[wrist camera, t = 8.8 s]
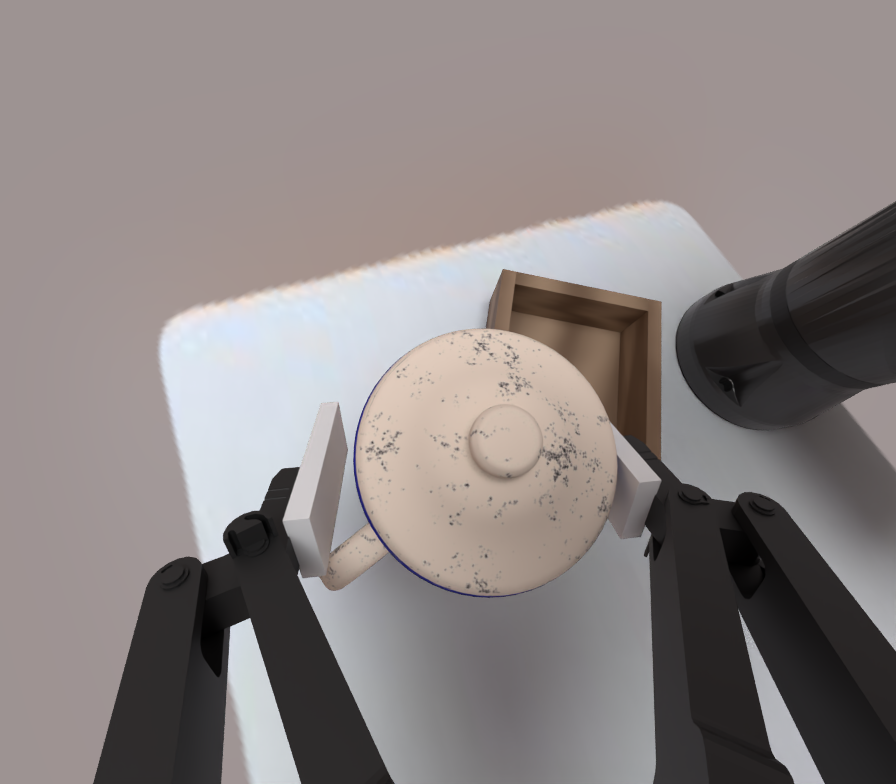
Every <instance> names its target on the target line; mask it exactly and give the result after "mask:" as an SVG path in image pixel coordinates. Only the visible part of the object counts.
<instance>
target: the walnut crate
mask: <svg viewBox="0 0 896 784" xmlns="http://www.w3.org/2000/svg"><path fill="white" fill-rule="evenodd" d="M486 329H496V330H503V331H509V332H513V333H517V334H520V335H524V336H526V337H529V338H531V339H534V340H536V341H538V342H540V343H542V344H544V345H546V346H548V347H549V348H551V349H553V350H554V351H556V352H557V353H559V354H560V355H561V356H563V357H564V358H565V359H567V360H568V361H569V362H570V363H571V364H572V365H573V366H575V367H576V369H577V370H578V371H579V372H580V373H581V374H582V375H583V376H584V377H585V378H586V380H587V381H588V382H589V383H590V385H591V386H592V388H593V389H594V391H595V392H596V394H597V395H598V397H599V399H600V401H601V403H602V404H603V406H604V409H605V411H606V413H607V416H608V418H609V421H610V422H611V423H612V425H613V426H614V427H615V428H616V429H617V430H618V431H619V433H620V434H621V435H622V436H627V435H632V436H634V437H636V438H637V439H639V440H640V441H642V442H644V444H645V445H646V446H647V447H648V448H649V449H650V450H651V452H652V453H654V454H655V455H656V456H657V457H658V460H660V461H661V302H660V301H655V300H650V299H646V298H641V297H636V296H631V295H626V294H621V293H617V292H612V291H607V290H602V289H597V288H592V287H587V286H583V285H578V284H573V283H568V282H563V281H558V280H553V279H549V278H544V277H539V276H534V275H529V274H524V273H519V272H515V271H510V270H505V269H503V270H502V273H501V275H500V278H499V280H498V283H497V285H496V287H495V290H494V292H493V295H492V297H491V300H490V304H489V311H488V317H487V324H486Z"/></svg>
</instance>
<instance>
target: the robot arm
mask: <svg viewBox="0 0 896 784" xmlns="http://www.w3.org/2000/svg"><path fill="white" fill-rule="evenodd" d="M677 354H678V359H679V363H680V366H681V369H682V371H683V374H684V376H685V378H686V380H687V382H688V383H689V385H690V387H691V388H692V390H693V391H694V392H695V394H696V395H697V396H698V397H699V398H700V400H701V401H702V402H703V403H704V404H705V405H706V406H708V407H709V408H710V409H711V410H712V411H714V412H715V413H716V414H718V415H719V416H721V417H722V418H724V419H726V420H728V421H730V422H732V423H734V424H736V425H739V426H742V427H745V428H750V429H756V430H772V429H778V428H783V427H789V426H794V425H798V424H801V423H804V422H807V421H809V420H811V419H813V418H815V417H817V416H818V415H820V414H822V413H823V412H825V411H827V410H829V409H831V408H833V407H834V406H836V405H838V404H840V403H841V402H843V401H845V400H847V399H848V398H850V397H852V396H854V395H855V394H857V393H859V392H861V391H862V390H865V389H868V388H872V387H877V386H881V385H885V384H890V383H895V382H896V201H895V202H893V203H892V204H890V205H889V206H887V207H885V208H883V209H882V210H880V211H878V212H877V213H875V214H874V215H872V216H870V217H868V218H867V219H865V220H863V221H862V222H860V223H858V224H857V225H855V226H853V227H852V228H850V229H848V230H846V231H845V232H843V233H842V234H840V235H838V236H836V237H835V238H833V239H831V240H830V241H828V242H826V243H825V244H823V245H821V246H820V247H819V248H816V249H815V250H813V251H811V252H809V253H808V254H807V255H805V256H803V257H802V258H800V259H798V260H797V261H795V262H793V263H792V264H790V265H788V266H787V267H785V268H783V269H780V270H777V271H773V272H770V273H766V274H763V275H759V276H756V277H752V278H749V279H745V280H742V281H738V282H734V283H731V284H728V285H725V286H722V287H720V288H718V289H716V290H714V291H712V292H710V293H709V294H707V295H706V296H704V297H703V298H702V299H700V300H699V301H697V302H696V303H694V304H693V305H692V306H691V307H690V308H689V309H688V310H687V312H686V313H685V315H684V316H683V318H682V320H681V323H680V325H679V329H678V333H677ZM610 424H611V427H612V430H613V435H614V439H615V444H616V451H617V483H616V490H615V495H614V499H613V503H612V507H611V510H610V512H609V515H608V519H609V521H610V522H611V524H612V526H613V527H614V529H615V530H616V532H617V534H618V535H619V537H620V538H621V539H625V538H634V537H641V535H642V532H643V529H644V527H645V525H646V527H647V528H648V530H649V531H650V532H651V537H650V539H649V542H648V545H647V547H646V550H645V553H644V556H645V557H647V556H648V553H649V559H650V589H651V620H652V651H653V682H654V712H655V743H656V770H655V776H654V781H653V784H794V781H793V778H792V776H791V775H790V773H789V771H788V769H787V768H786V766H784V765H783V764H782V763H780V762H779V761H778V760H776V759H775V757H774V755H773V754H772V751H771V748H770V745H769V740H768V736H767V732H766V728H765V723H764V719H763V715H762V710H761V706H760V702H759V697H758V693H757V689H756V684H755V680H754V676H753V671H752V667H751V663H750V659H749V654H748V650H747V646H746V641H745V637H744V633H743V628H742V624H741V620H740V615H739V611H740V613H741V615H742V617H743V619H744V621H745V623H746V625H747V627H748V629H749V631H750V633H751V635H752V638H753V640H754V642H755V644H756V646H757V648H758V650H759V652H760V654H761V656H762V658H763V660H764V662H765V664H766V666H767V668H768V670H769V672H770V674H771V676H772V678H773V680H774V682H775V684H776V686H777V688H778V690H779V692H780V694H781V696H782V698H783V700H784V702H785V704H786V706H787V708H788V710H789V712H790V714H791V716H792V718H793V720H794V722H795V724H796V726H797V728H798V730H799V732H800V735H801V737H802V739H803V741H804V743H805V745H806V747H807V749H808V751H809V753H810V755H811V757H812V759H813V761H814V763H815V765H816V767H817V769H818V771H819V773H820V775H821V777H822V779H823V781H824V783H825V784H896V651H895V650H894V649H893V647H892V646H891V645H890V643H889V642H888V641H887V640H886V638H885V637H884V636H883V635H882V633H881V632H880V631H879V629H878V628H877V627H876V626H875V624H874V623H873V622H872V620H871V619H870V618H869V617H868V615H867V614H866V613H865V611H864V610H863V609H862V608H861V606H860V605H859V604H858V603H857V601H856V600H855V599H854V597H853V596H852V595H851V594H850V592H849V591H848V590H847V588H846V587H845V586H844V585H843V583H842V582H841V581H840V579H839V578H838V577H837V576H836V574H835V573H834V572H833V571H832V569H831V568H830V567H829V565H828V564H827V563H826V562H825V560H824V559H823V558H822V556H821V555H820V554H819V553H818V551H817V550H816V549H815V547H814V546H813V545H812V544H811V542H810V541H809V540H808V539H807V537H806V536H805V535H804V533H803V532H802V531H801V530H800V528H799V527H798V526H797V524H796V523H795V522H794V521H793V519H792V518H791V517H790V515H789V514H788V513H787V512H786V510H785V509H784V508H783V507H782V506H781V505H780V504H779V503H777V502H775V501H774V500H772V499H771V498H769V497H766V496H764V495H761V494H757V493H753V492H744V493H742V494H740V495H739V496H738V498H737V500H736V502H729V501H722V500H715V499H711V497H710V496H708V495H707V494H706V493H705V492H704V491H702V490H701V489H699V488H697V487H694V486H692V485H689V484H682V483H681V482H680V481H679V480H678V479H677V478H676V477H675V475H674V474H673V473H672V472H671V471H670V470H669V469H668V468H667V467H666V466H665V465H664V464H663V463H662V462H661V461H660V460H658V457H657V456H656V455H655V454H654V453H652V452H651V450H650V449H649V448H648V447H647V446H646V445H645V444H644V442H642V441H640V440H639V439H637V438H636V437H634V436H632V435H627V436H622V435H621V434H620V433H619V431H618V430H617V429H616V428H615V427H614V426H613V425H612V423H611V422H610ZM347 451H348V448H347V443H346V438H345V433H344V428H343V423H342V418H341V413H340V407H339V402H329V403H321V405H320V408H319V411H318V414H317V417H316V420H315V423H314V426H313V429H312V432H311V435H310V438H309V441H308V444H307V447H306V450H305V454H304V457H303V460H302V463H301V466H300V467H295V468H284V469H281V470H280V471H279V472H278V474H277V475H276V476H275V477H274V478H273V479H272V481H271V484H270V486H269V489H268V492H267V494H266V496H265V501H263V504H262V506H261V508H260V511H252V512H249V513H245V514H243V515H241V516H239V517H238V518H236V519H234V520H233V521H232V522H231V523H230V524H229V525H228V526H227V528H226V530H225V531H224V533H223V541H224V543H225V545H226V547H227V549H228V552H229V554H227V555H225V556H223V557H220V558H217V559H215V560H212V561H209V562H206V563H204V564H201V562H200V561H199V560H198V559H197V558H193V557H184V558H179V559H177V560H174V561H172V562H170V563H168V564H166V565H165V566H164V567H162V568H161V569H159V570H158V571H157V572H156V573H155V575H153V577H152V578H151V579H150V581H149V583H148V585H147V587H146V591H145V594H144V598H143V602H142V605H141V609H140V613H139V616H138V620H137V624H136V628H135V631H134V635H133V639H132V642H131V646H130V650H129V653H128V657H127V661H126V664H125V668H124V672H123V675H122V679H121V683H120V687H119V690H118V694H117V698H116V702H115V705H114V709H113V713H112V716H111V720H110V724H109V727H108V731H107V735H106V739H105V742H104V746H103V749H102V754H101V757H100V761H99V764H98V768H97V772H96V775H95V779H94V783H93V784H221V775H222V757H223V741H224V725H225V707H226V690H227V673H228V656H229V639H230V626H233V625H235V624H237V623H239V622H242V621H244V620H246V619H249V618H251V622H252V625H253V628H254V631H255V635H256V638H257V641H258V644H259V648H260V651H261V654H262V657H263V661H264V664H265V667H266V670H267V674H268V677H269V680H270V683H271V687H272V690H273V693H274V696H275V700H276V703H277V706H278V709H279V713H280V716H281V719H282V722H283V726H284V729H285V732H286V735H287V739H288V742H289V745H290V748H291V752H292V755H293V758H294V761H295V765H296V768H297V771H298V774H299V778H300V781H301V784H395V783H394V782H393V780H392V779H391V777H390V775H389V773H388V771H387V769H386V767H385V765H384V762H383V760H382V758H381V756H380V754H379V752H378V749H377V747H376V745H375V743H374V741H373V739H372V736H371V734H370V732H369V730H368V728H367V726H366V723H365V721H364V719H363V717H362V715H361V713H360V710H359V708H358V706H357V704H356V702H355V700H354V697H353V695H352V693H351V691H350V689H349V686H348V684H347V682H346V680H345V678H344V676H343V673H342V671H341V669H340V667H339V665H338V663H337V660H336V658H335V656H334V654H333V652H332V650H331V647H330V645H329V643H328V641H327V639H326V637H325V634H324V632H323V630H322V628H321V626H320V624H319V621H318V619H317V617H316V615H315V613H314V611H313V608H312V606H311V604H310V602H309V600H308V598H307V595H306V593H305V591H304V589H303V587H302V585H301V582H300V580H299V578H298V576H297V575H298V571H299V569H300V572H301V575H302V578H308V577H317V576H325V575H326V574H327V568H328V562H329V556H330V550H331V545H332V539H333V533H334V527H335V521H336V515H337V510H338V504H339V498H340V492H341V486H342V481H343V475H344V469H345V463H346V457H347ZM738 609H739V611H738Z"/></svg>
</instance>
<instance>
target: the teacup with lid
mask: <svg viewBox="0 0 896 784" xmlns="http://www.w3.org/2000/svg"><path fill="white" fill-rule="evenodd" d="M353 462H354V476H355V482H356V488H357V492H358V496H359V499H360V503H361V505H362V508H363V511H364V513H365V515H366V518H367V520H368V522H369V523H368V524H367V525H365V526H364V527H363V528H361V529H360V530H359V531H358V532H356V533H355V534H354V535H353V536H351V537H350V538H349V539H348V540H346V541H345V542H344V543H343V544H341V545H340V546H339V547H337V548H336V549H335V550H334V551H333V552H331V553H330V556H329V562H328V568H327V574H326V575H325V576H319V577H320V579H321V580H322V582H323V583H324V585H325V586H326V588H328V589H329V590H331V591H336V590H340V589H342V588H343V587H345V586H346V585H348V584H349V583H351V582H352V581H353V580H355V579H356V578H357V577H359V576H360V575H361V574H363V573H364V572H365V571H366V570H368V569H369V568H370V567H371V566H373V565H374V564H375V563H376V562H377V561H379V560H380V559H381V558H382V557H384V556H385V555H386V554H387V553H388V552H390V553H391V554H392V556H393V557H394V558H395V559H396V560H397V561H398V562H400V563H401V564H402V565H403V566H404V567H405V568H407V569H408V570H409V571H411V572H412V573H414V574H415V575H416V576H418V577H419V578H421V579H423V580H425V581H427V582H428V583H430V584H432V585H434V586H437V587H439V588H442V589H444V590H447V591H450V592H454V593H457V594H461V595H467V596H473V597H487V598H490V597H505V596H511V595H517V594H520V593H524V592H527V591H530V590H533V589H535V588H538V587H540V586H543V585H545V584H546V583H548V582H550V581H552V580H554V579H556V578H557V577H559V576H560V575H562V574H563V573H565V572H566V571H567V570H569V569H570V568H571V567H572V566H573V565H574V564H576V563H577V562H578V561H579V560H580V559H581V558H582V557H583V556H584V555H585V553H586V552H587V551H588V550H589V549H590V547H591V546H592V545H593V543H594V542H595V541H596V539H597V537H598V536H599V534H600V532H601V531H602V529H603V527H604V524H605V522H606V520H607V518H608V515H609V512H610V510H611V507H612V503H613V499H614V495H615V490H616V483H617V451H616V444H615V439H614V435H613V430H612V427H611V424H610V421H609V418H608V416H607V413H606V411H605V409H604V406H603V404H602V403H601V401H600V399H599V397H598V395H597V394H596V392H595V391H594V389H593V388H592V386H591V385H590V383H589V382H588V381H587V380H586V378H585V377H584V376H583V375H582V374H581V373H580V372H579V371H578V370H577V369H576V367H575V366H573V365H572V364H571V363H570V362H569V361H568V360H567V359H565V358H564V357H563V356H561V355H560V354H559V353H557V352H556V351H554V350H553V349H551V348H549V347H548V346H546V345H544V344H542V343H540V342H538V341H536V340H534V339H531V338H529V337H526V336H524V335H520V334H517V333H513V332H509V331H503V330H496V329H467V330H461V331H455V332H451V333H447V334H444V335H441V336H438V337H436V338H433V339H431V340H429V341H427V342H424V343H422V344H421V345H419V346H417V347H416V348H414V349H412V350H411V351H409V352H408V353H406V354H405V355H404V356H402V357H401V358H400V359H399V360H398V361H397V362H395V363H394V364H393V365H392V366H391V367H390V368H389V369H388V370H387V372H386V373H385V374H384V375H383V376H382V377H381V379H380V380H379V381H378V383H377V384H376V386H375V387H374V389H373V390H372V392H371V394H370V396H369V397H368V399H367V402H366V404H365V406H364V408H363V411H362V413H361V416H360V419H359V423H358V427H357V431H356V436H355V443H354V458H353Z"/></svg>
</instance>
